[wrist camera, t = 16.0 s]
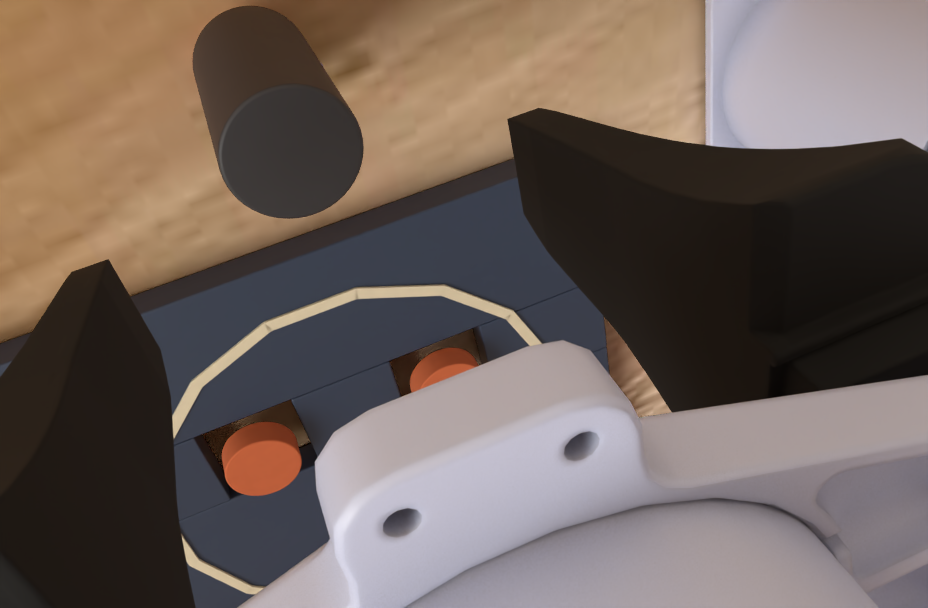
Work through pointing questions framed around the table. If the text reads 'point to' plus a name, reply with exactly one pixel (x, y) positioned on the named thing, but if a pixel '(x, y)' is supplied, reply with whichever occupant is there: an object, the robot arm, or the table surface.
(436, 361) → the eye
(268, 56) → the marker
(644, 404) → the table surface
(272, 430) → the eye
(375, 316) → the face board
